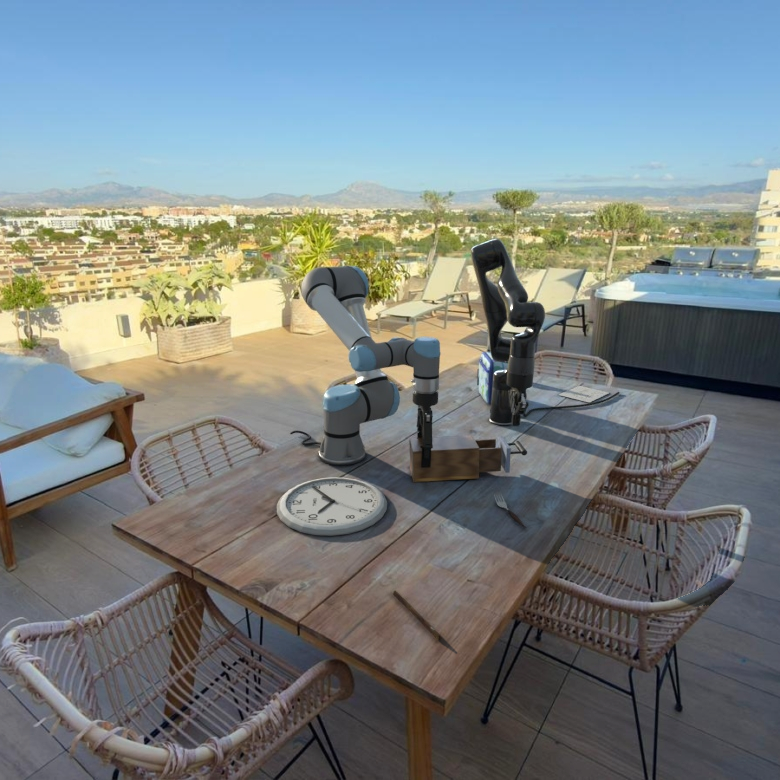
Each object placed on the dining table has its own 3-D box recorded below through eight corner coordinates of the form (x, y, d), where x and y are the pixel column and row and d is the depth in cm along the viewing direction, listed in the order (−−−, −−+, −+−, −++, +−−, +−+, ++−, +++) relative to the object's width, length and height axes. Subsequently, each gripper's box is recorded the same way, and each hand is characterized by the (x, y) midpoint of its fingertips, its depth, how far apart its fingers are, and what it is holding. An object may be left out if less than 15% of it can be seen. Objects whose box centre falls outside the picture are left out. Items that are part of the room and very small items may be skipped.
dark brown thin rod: (392, 594, 108) (393, 590, 108) (394, 593, 109) (394, 589, 108) (438, 640, 96) (438, 636, 96) (440, 639, 97) (440, 635, 96)
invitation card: (579, 385, 255) (609, 392, 245) (579, 386, 255) (609, 393, 245) (558, 394, 241) (589, 402, 231) (558, 395, 241) (589, 402, 231)
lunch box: (475, 390, 246) (478, 346, 240) (498, 390, 246) (501, 347, 240) (484, 408, 221) (487, 360, 215) (509, 409, 221) (513, 360, 215)
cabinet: (471, 463, 168) (472, 434, 165) (478, 478, 158) (479, 447, 155) (409, 467, 166) (409, 438, 164) (413, 482, 157) (412, 451, 154)
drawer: (518, 459, 168) (519, 435, 165) (527, 471, 159) (528, 447, 157) (443, 463, 166) (443, 439, 164) (448, 476, 158) (448, 451, 155)
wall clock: (392, 527, 129) (268, 531, 127) (391, 533, 130) (269, 537, 127) (383, 473, 158) (282, 475, 155) (383, 478, 158) (282, 480, 156)
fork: (520, 530, 132) (521, 523, 132) (492, 499, 147) (492, 493, 146) (529, 529, 133) (530, 522, 132) (500, 498, 147) (501, 492, 147)
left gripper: (409, 379, 164) (407, 444, 171) (417, 402, 143) (415, 476, 149) (432, 379, 165) (430, 444, 171) (444, 402, 143) (441, 475, 150)
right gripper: (502, 364, 160) (497, 417, 165) (514, 376, 147) (509, 433, 152) (526, 364, 160) (520, 417, 166) (540, 376, 148) (534, 433, 153)
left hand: (423, 459), depth 160 cm, fingers closed on cabinet, 10 cm apart
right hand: (515, 425), depth 159 cm, fingers closed
